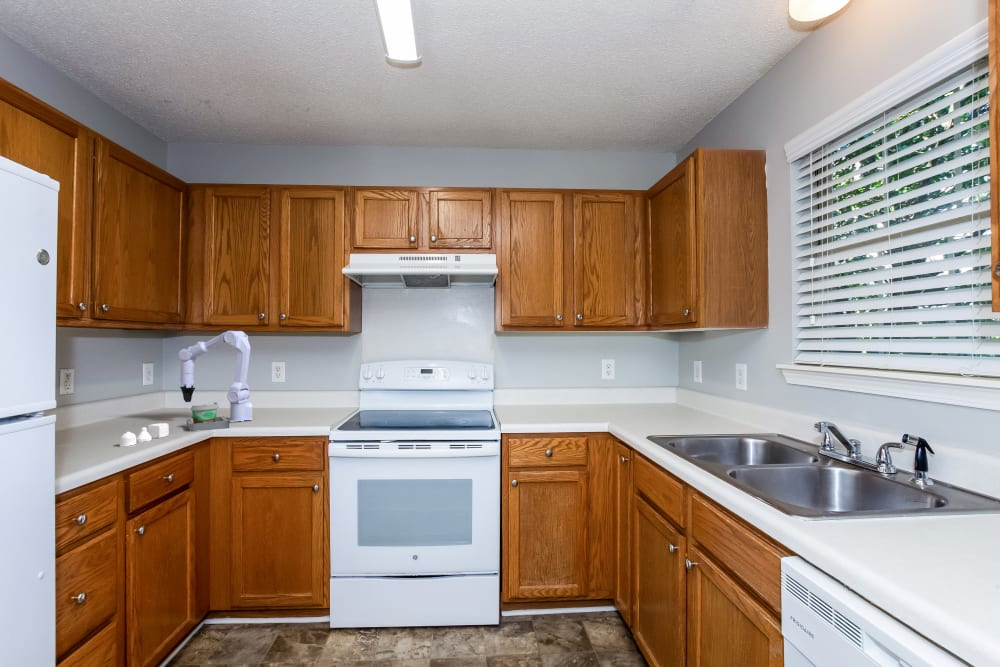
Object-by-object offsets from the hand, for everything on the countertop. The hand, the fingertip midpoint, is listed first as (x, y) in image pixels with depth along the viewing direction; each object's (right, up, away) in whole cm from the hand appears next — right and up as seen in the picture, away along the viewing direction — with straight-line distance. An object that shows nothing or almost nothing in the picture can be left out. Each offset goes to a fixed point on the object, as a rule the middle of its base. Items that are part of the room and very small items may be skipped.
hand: (187, 401), depth 234 cm
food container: (+19, -10, -14) cm, 25 cm away
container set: (+13, -10, -47) cm, 49 cm away
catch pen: (+20, -9, -16) cm, 27 cm away
